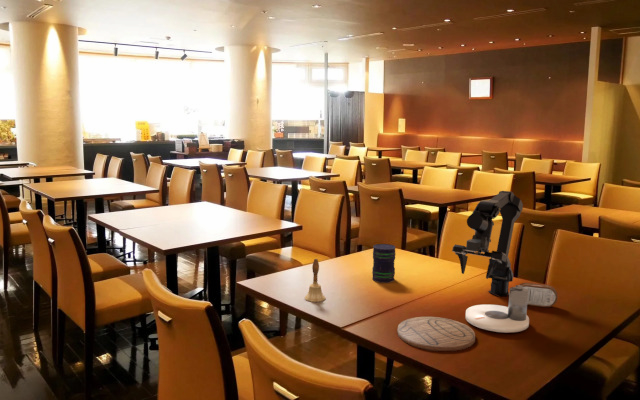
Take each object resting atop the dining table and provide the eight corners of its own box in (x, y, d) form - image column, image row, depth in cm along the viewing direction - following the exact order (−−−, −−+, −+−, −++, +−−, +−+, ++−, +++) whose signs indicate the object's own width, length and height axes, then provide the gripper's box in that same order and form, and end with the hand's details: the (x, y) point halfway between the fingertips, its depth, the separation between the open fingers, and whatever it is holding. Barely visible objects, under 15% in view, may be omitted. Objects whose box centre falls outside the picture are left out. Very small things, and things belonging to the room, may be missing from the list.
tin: (556, 306, 203) (558, 285, 201) (557, 309, 200) (558, 287, 198) (514, 301, 207) (516, 281, 206) (514, 304, 204) (516, 283, 203)
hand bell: (307, 294, 213) (307, 255, 211) (327, 295, 211) (328, 257, 209) (302, 301, 205) (302, 261, 203) (323, 303, 203) (323, 262, 201)
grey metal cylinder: (516, 313, 186) (519, 282, 185) (529, 319, 181) (532, 287, 179) (503, 315, 184) (506, 284, 182) (516, 321, 178) (519, 290, 177)
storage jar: (398, 278, 235) (399, 245, 233) (388, 284, 227) (389, 250, 225) (378, 274, 241) (379, 242, 238) (368, 280, 232) (369, 247, 230)
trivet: (425, 358, 158) (426, 352, 158) (383, 327, 181) (383, 322, 180) (491, 345, 168) (492, 339, 168) (443, 317, 191) (443, 312, 190)
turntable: (498, 306, 199) (498, 301, 198) (542, 326, 180) (542, 320, 180) (453, 314, 190) (453, 309, 190) (494, 336, 171) (495, 330, 171)
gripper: (450, 226, 195) (442, 268, 193) (500, 233, 184) (492, 278, 181) (462, 232, 204) (453, 272, 202) (510, 240, 192) (502, 282, 190)
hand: (474, 276), depth 193 cm, fingers open, 9 cm apart
